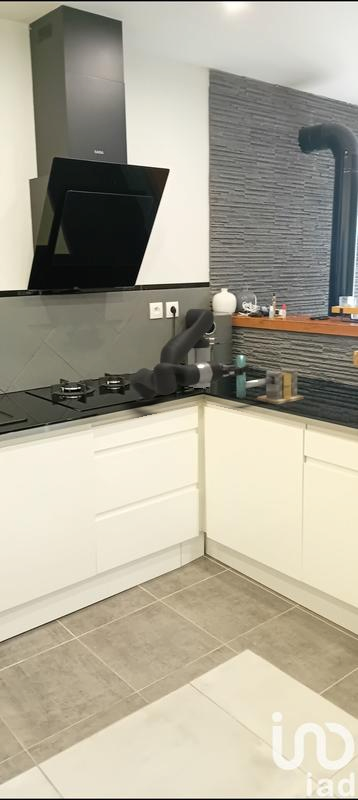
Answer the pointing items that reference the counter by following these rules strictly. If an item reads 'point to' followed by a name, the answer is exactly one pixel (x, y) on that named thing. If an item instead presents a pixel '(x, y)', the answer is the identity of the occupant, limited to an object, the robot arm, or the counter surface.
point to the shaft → (244, 384)
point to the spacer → (286, 384)
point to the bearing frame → (280, 388)
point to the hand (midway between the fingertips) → (240, 367)
